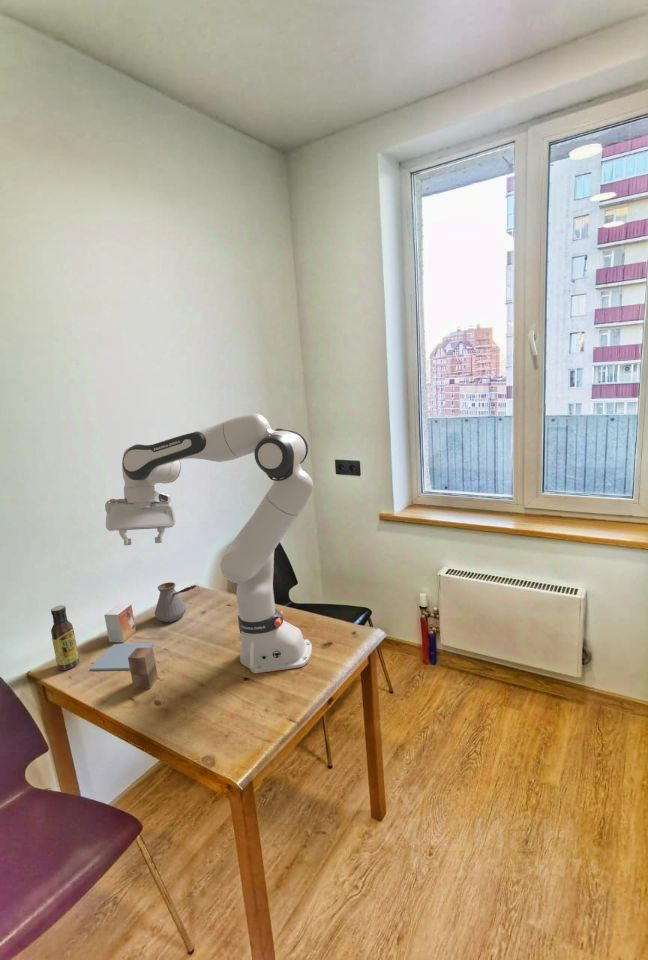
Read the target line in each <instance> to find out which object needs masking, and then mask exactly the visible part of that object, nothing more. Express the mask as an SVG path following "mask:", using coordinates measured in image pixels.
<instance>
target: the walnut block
mask: <svg viewBox="0 0 648 960" xmlns="http://www.w3.org/2000/svg"><path fill="white" fill-rule="evenodd" d="M128 661H129V666H130V670H129V671H130V675H131V676H130V677H131V680H132V686H133V690H150V689H152V687H153V686H154V684H155V683H156V682H157V680H158V678H159V675H158V670H157V664H156V659H155V654H154V648H153V647H151V648H136V649H135V650H134V651H133V653H132V654H131V655H130V656H129V657H128Z"/></svg>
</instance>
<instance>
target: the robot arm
mask: <svg viewBox="0 0 648 960" xmlns="http://www.w3.org/2000/svg"><path fill="white" fill-rule="evenodd" d="M308 452H309V445H308V442H307V440H306V438H305V437H304V436H303V435H302V434H300V433H299V432H296V431H294V430H288V429H283V428H276V429H273V428H272V427H271V425H270V423H269V421H268V420H267V418H265V416H263V415H262V414H260V413H257V412H256V413H255V412H254V413H249V414H248V413H247V414H244V415H240V416H236V417H234V418H233V417H232V418H230V419H227V420H224V421H222V422H220V423H217V424H215V425H212V426H209V427H206V428H203V429H200V430H196V431H194V432H190V433H186V434H181V435H178V436H175V437H171V438H169V439H166V440H162V441H160V442H156V443H151V444H134V445H131V446H129V447H128V448H126V449H125V450H124V452H123V454H122V461H121V465H122V466H121V467H122V468H121V469H122V470H121V472H122V478H123V481H124V486H123V496H124V497H123V498H117V499H116V498H110V499H109V500H107V501H106V502H105V504H104V509H105V512H106V517H105V528H106V530H108V532H113V531H114V532H115V531H118V534H119V536H120V537H121V539H122V540H123V545H124V546H131V545H132V538H129V537H128V536H127V533H128V532H127V531H133V530H134V531H135V530H152V529H153V530H154V529H155V530H156V532H157V533H158V534H157V536H155V537H154V543H155V544H161V543H162V542H163V539H162V538H163V535H164V533H165V530H166V529H170V528H172V527H174V526H175V525H176V515H175V509H174V507H173V506H172V504H171V502H172V497H171V495H168V494H165V493H162V492H160V491H157V490H156V489H155V485H156V484H171V483H173V482H175V481H176V480H177V479H178V478H179V476H180V474H181V469H182V466H181V465H182V464H181V460H188V459H197V460H205V461H210V462H219V463H220V462H229V461H233V460H236V459H239V458H243V457H244V456H247V455H251V454H254V460H255V462H256V465H257V466H258V467H259V469H260V470H262V472H263V473H264V474H266V475H267V477H268V478H269V479H270V480H272V481H273V483H272V485H271V487H270V488H269V489H268V491H267V493H266V494H265V496H264V497H263V498H262V500H261V502H260V503H259V505H258V506H257V508H256V509H255V511H254V512H253V514H252V515H251V516H250V518H249V519H248V521H246V523H245V524H244V526H243V527H242V528H241V530H240V531H239V532H238V534H237V535H236V537H235V538H234V539H233V540H232V541H231V544H229V546H228V548H227V549H226V551H225V552H224V554H223V555H222V558H221V561H220V565H219V567H220V571H221V573H222V576H223V577H224V578H225V579H226V580H228V581H229V582H231V583H234V584H237V587H236V603H237V610H238V615H237V618H238V619H237V621H238V630H239V632H240V637H241V638H240V639H241V640H240V641H241V642H240V643H241V644H240V646H241V647H240V655H239V662H240V664H242V665H243V666H244V667H246V668H248V669H249V671H250V672H251V673H253V674H260V673H267V672H276V671H283V670H288V669H289V670H290V669H297V668H302V667H305V666H306V664H308V662H309V661H310V660H311V657H312V654H313V646H312V642H311V641H310V640H309V639H304V635H303V632H302V631H301V629H300V628H299V627H296V626H294V625H292V624H291V623H289V622H287V621H286V620H284V616H283V615H284V612H283V609H281V610H280V611H279V610H278V609H277V608H276V604H275V595H274V594H275V593H274V571H275V569H274V568H275V567H274V565H275V560H274V559H275V549H276V548H277V547H278V545H280V543H281V541H282V540H283V538H284V537H285V536H286V535H287V533H288V532H289V530H290V528H291V527H292V525H294V523H295V522H296V519H298V517H299V515H300V514H301V512H302V511H303V509H304V508H305V506H306V504H307V502H308V500H309V498H310V496H311V494H312V492H313V489H314V483H313V481H314V480H313V479H312V477H311V476H310V474H308V472H306V471H305V470H303V468H302V465H301V464H302V463H304V461H305V460H306V458H307V457H308V454H309V453H308Z"/></svg>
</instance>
